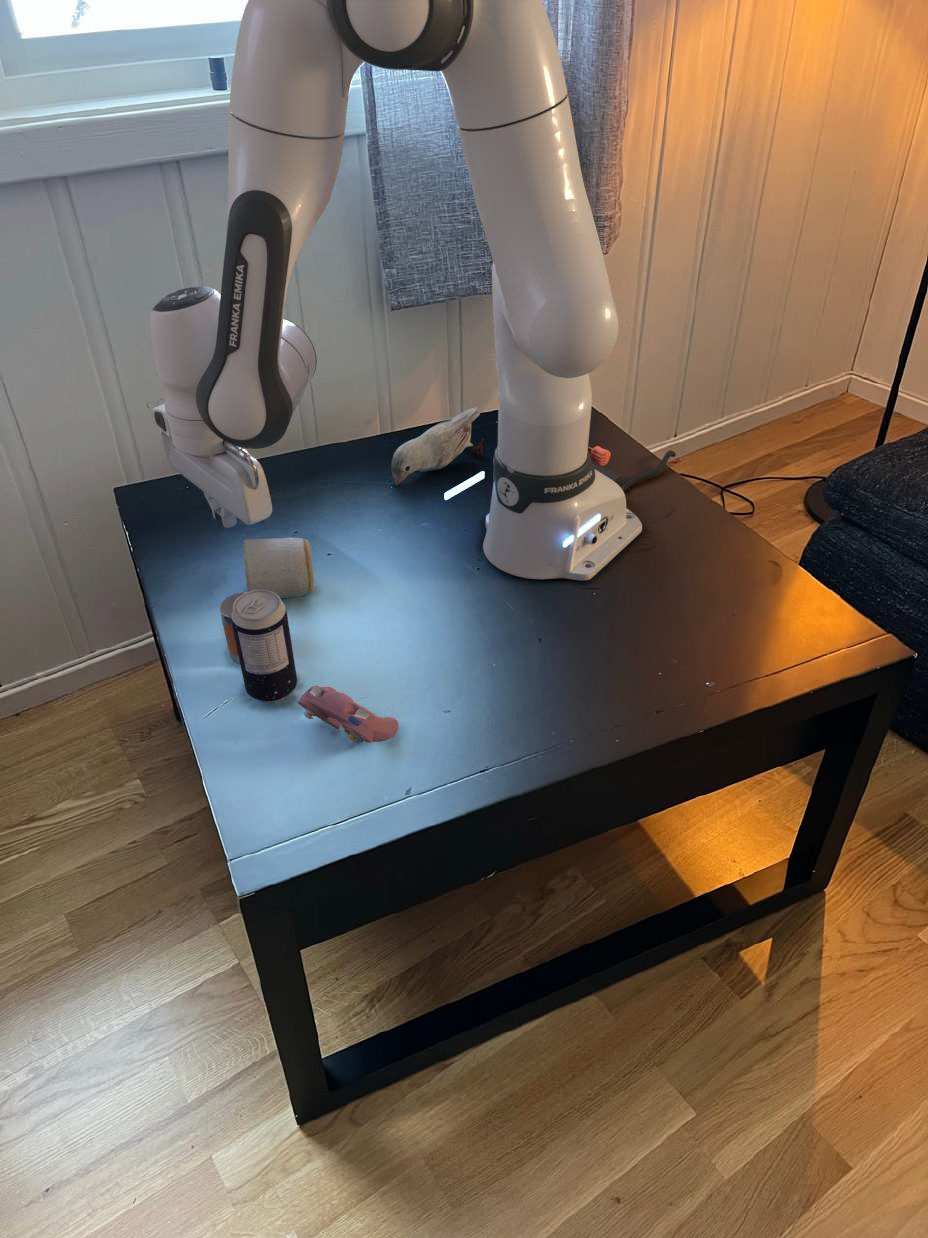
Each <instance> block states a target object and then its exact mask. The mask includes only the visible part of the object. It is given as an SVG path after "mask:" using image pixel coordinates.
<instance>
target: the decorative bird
mask: <svg viewBox="0 0 928 1238" xmlns="http://www.w3.org/2000/svg"><path fill="white" fill-rule="evenodd" d="M480 415H481V412H480V411H479V408H478V406H474V407H470V408H468V409H466V410H464V411H463V412H460V413H458V414H457V415H456V416H455V417H453V418H451V419H447V420H444V421H441V422H440V423H437V424H435V425H433V426H432V427H430V428H429V429H426V431H424V432H423V433H422V434H421V435H420V436H417V437H416V438H413V439H411V440H408V441H406V442H404V443H403V444H401V445H400V446H398V447H397V449H396V450H395V451H394V453H393V456H392V459H391V464H390V469H391V474H392V479H393V481H394V484H395V485H396V486H398V485H400V484H401V483H402V482H403V481H404V480H405V479H406V478H407V477H408V476H409V475H411V474H412V473H414V472H421V473H424V472H430V471H437V470H441V469H444V468H445V467H446V466H448V465H449V464H450V463H451V462H453V460H454V459H456V458H457V457H458V456H459V455H460V454H461V453H463V451H464V450H467V448H469V450H472V448H473V449H475V450H474V451H473V453H474V454H475V453H476V457H477V458H479V454H480V456H481V457H484V455H483V441H484V438H482V439H481V440H480V442H479V445H478V446H475V445H474V443H472V442H471V441H472V439H471V437H472V423H473V422H474V421H475V420H476V419H477V418H479V417H480ZM471 447H472V448H471Z"/></svg>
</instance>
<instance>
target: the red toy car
mask: <svg viewBox="0 0 928 1238" xmlns="http://www.w3.org/2000/svg"><path fill="white" fill-rule="evenodd" d="M297 704H298V705H299V706H300V707H301V708H303V710H304V711H305V712H304V711H303V715H304V717H305V718H307V719H308V720H314V717H316V718H318V719H319V720H321V721H323V722H324V723H325V724H327V725H328V726H329V727H332V728H334V729H336V730H340V728H341V727H342V728H343V729H344V730H343V732H344V733H345V734H347V735H348V738H349V740H351V741H353V742H355V741H358V742H361V743H363V742H365V743H368V744H372V743H381V742H385V741H387V740H390V739H391V738H393V737H395V735H396V734H397V733H398V730H399V727H400V726H399V721H398V720H397V718H396V717H392V716H379V715H376V714H375V713H373V712H372V711H370V710H369V709H368V708H366V707H364V706H363V705H360V704H358V703H357V702H355V701H354V699H353V698H351V697H350V696H349V695H348V694H346V693H345V692H341V691H337V689H336V688H334V687H333V686H319V685H312V686H310V687H309V688H307V689H306V690H305V691H304V693H303V694H302V695H301V696H300V697H299V699H298V700H297Z"/></svg>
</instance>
